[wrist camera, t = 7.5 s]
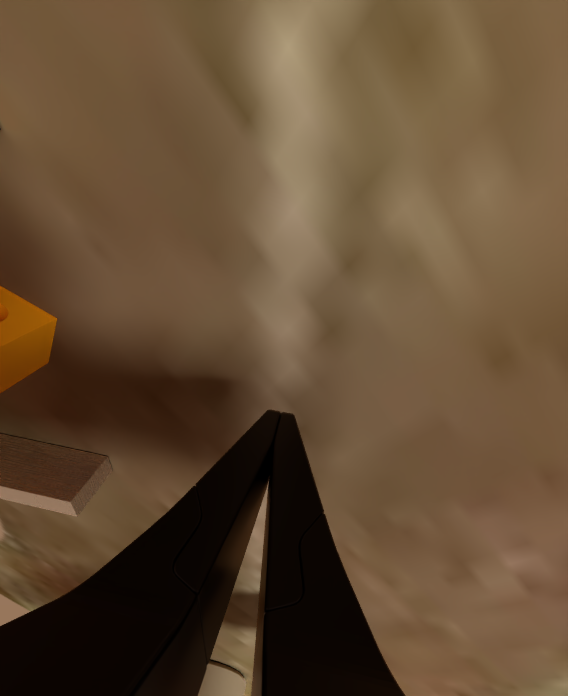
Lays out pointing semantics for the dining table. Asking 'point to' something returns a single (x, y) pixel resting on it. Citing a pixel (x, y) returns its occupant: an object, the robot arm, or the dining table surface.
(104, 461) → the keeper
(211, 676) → the travel mug
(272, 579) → the robot arm
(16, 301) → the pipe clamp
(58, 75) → the dining table surface
